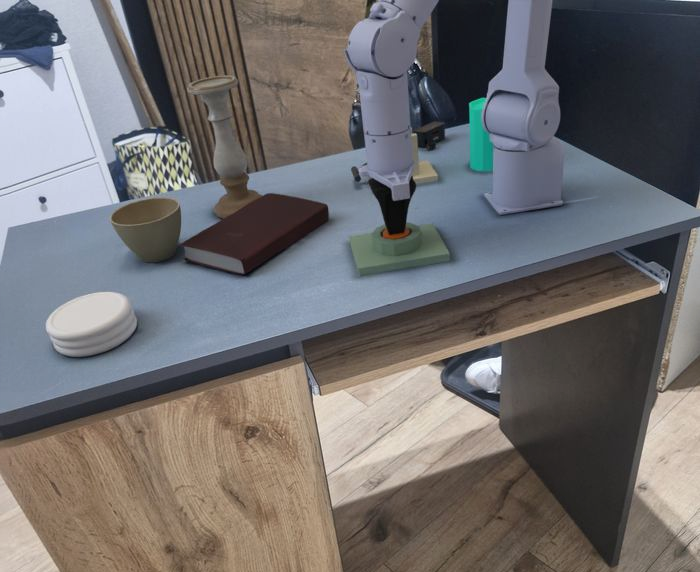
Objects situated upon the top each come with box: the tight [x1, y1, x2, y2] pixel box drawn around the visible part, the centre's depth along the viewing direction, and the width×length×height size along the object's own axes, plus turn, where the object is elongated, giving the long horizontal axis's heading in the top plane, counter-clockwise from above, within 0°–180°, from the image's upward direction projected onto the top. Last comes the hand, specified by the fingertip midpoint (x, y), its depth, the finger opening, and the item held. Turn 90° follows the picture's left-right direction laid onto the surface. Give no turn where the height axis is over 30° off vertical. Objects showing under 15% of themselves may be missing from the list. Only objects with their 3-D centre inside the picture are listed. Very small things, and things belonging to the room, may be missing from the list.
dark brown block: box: [413, 121, 446, 151], centre depth 121 cm, size 5×7×3 cm, turn 134°
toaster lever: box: [350, 162, 367, 183], centre depth 107 cm, size 11×5×2 cm, turn 97°
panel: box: [348, 221, 451, 277], centre depth 86 cm, size 12×10×3 cm
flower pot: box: [109, 196, 182, 263], centre depth 94 cm, size 10×10×7 cm
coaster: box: [45, 291, 138, 358], centre depth 78 cm, size 10×10×4 cm
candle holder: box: [186, 74, 263, 219], centre depth 101 cm, size 9×9×20 cm
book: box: [180, 192, 330, 276], centre depth 95 cm, size 12×19×3 cm, turn 145°
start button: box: [383, 227, 410, 239], centre depth 86 cm, size 4×4×2 cm
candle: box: [468, 92, 493, 172], centre depth 106 cm, size 6×6×12 cm
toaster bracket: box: [411, 126, 439, 185], centre depth 107 cm, size 10×8×8 cm
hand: (395, 231), depth 85 cm, fingers closed, pressing on start button
